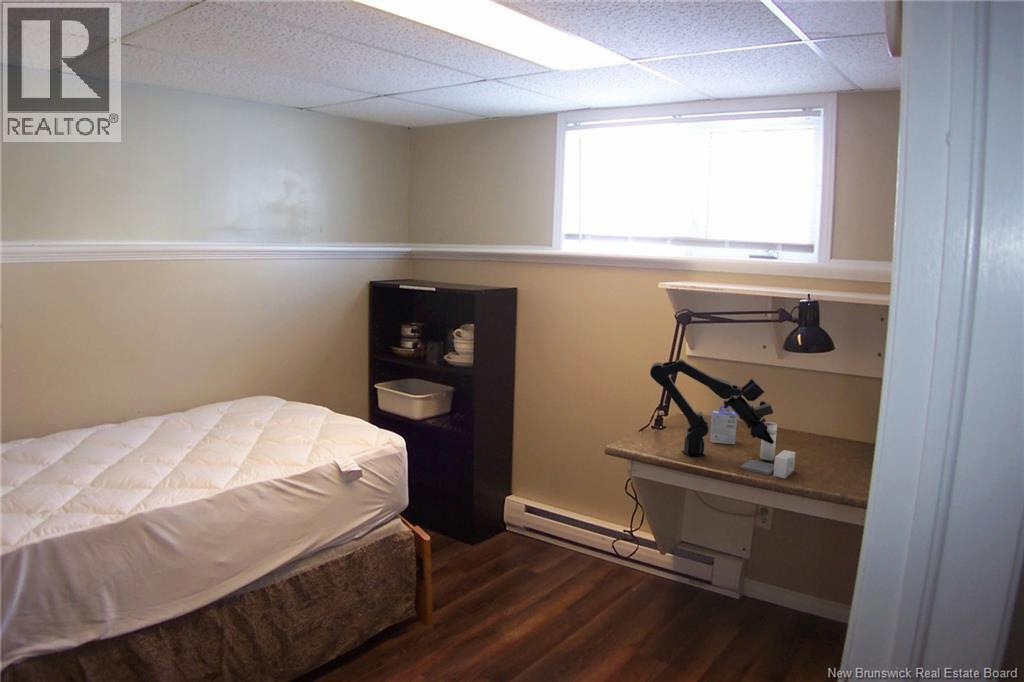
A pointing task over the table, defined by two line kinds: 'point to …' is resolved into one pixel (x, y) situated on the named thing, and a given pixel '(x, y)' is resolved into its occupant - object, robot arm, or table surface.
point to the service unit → (784, 464)
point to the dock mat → (758, 467)
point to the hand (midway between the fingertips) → (772, 441)
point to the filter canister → (768, 448)
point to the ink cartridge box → (723, 426)
